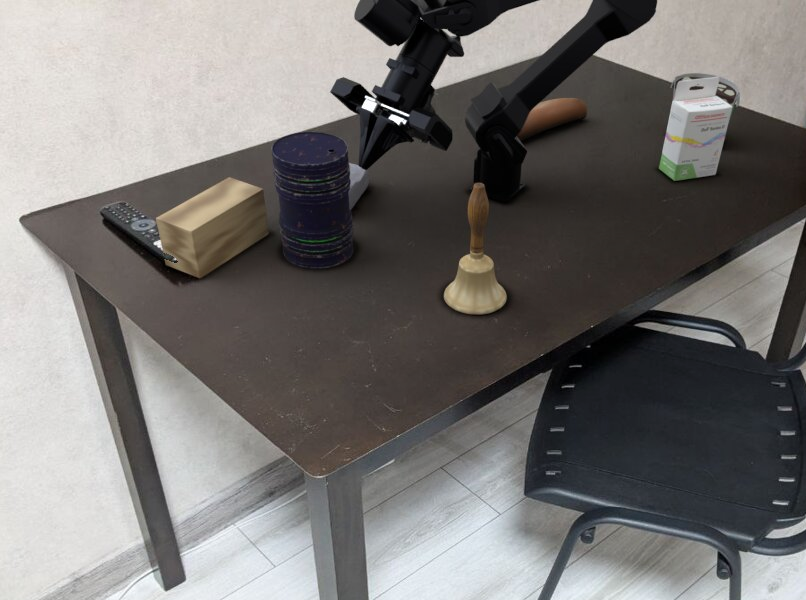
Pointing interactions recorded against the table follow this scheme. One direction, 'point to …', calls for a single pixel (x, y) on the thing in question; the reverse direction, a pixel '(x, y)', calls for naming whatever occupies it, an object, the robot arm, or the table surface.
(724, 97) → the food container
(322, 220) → the blue barrel
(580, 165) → the table surface
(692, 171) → the ink box
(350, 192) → the stone block
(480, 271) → the hand bell
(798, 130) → the table surface
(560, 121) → the sunglasses case
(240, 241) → the birch block
